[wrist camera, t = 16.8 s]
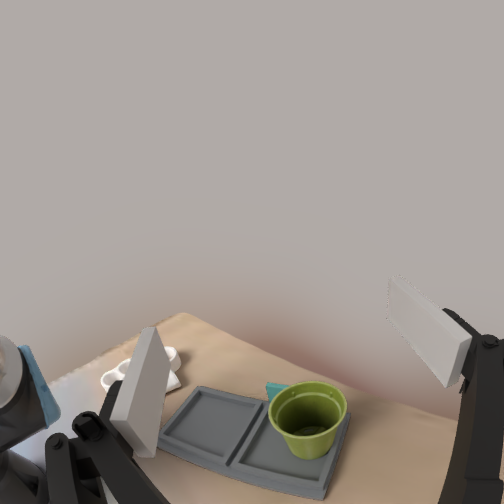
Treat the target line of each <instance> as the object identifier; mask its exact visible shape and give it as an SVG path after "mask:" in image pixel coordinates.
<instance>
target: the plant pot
mask: <svg viewBox="0 0 504 504" xmlns="http://www.w3.org/2000/svg"><path fill="white" fill-rule="evenodd" d="M346 411H347V401H346V398H345V396H344V394H343V393H342V392H341V391H340V390H339V389H338V388H337V387H335V386H333V385H331V384H329V383H325V382H321V381H306V382H300V383H296V384H293V385H291V386H289V387H287V388H285V389H283V390H282V391H280V392H279V393H278V394H277V395H276V396H275V397H274V398H273V400H272V401H271V403H270V406H269V410H268V415H269V419H270V422H271V424H272V425H273V427H274V428H275V429H276V430H277V431H278V432H280V433H281V434H282V435H283V437H284V439H285V441H286V443H287V445H288V447H289V449H290V451H291V452H292V453H293V454H294V455H295V456H297V457H299V458H301V459H305V460H313V459H317V458H320V457H322V456H324V455H325V454H326V453H327V452H328V451H329V450H330V448H331V446H332V444H333V441H334V438H335V434H336V431H337V427H338V425H339V424H340V423H341V422H342V421H343V419H344V417H345V415H346ZM308 429H313V431H307V432H304V431H305V430H308Z"/></svg>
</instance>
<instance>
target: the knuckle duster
mask: <svg viewBox="0 0 504 504" xmlns="http://www.w3.org/2000/svg"><path fill="white" fill-rule="evenodd" d="M164 348H165V351H166V353H167V356H168V358H169V359H170V363H171V368H170V373H169V379H168V384H167V389H166V393H167V392H169V391H171V390H173V389H175V388H178V387H180V386H181V384H180V382H179V380H178V378H177V377H176V375H175V374H174V372H176V371H177V370H178V369H179V368H180V366H181V360H180V358H179V355H178V353H177V351H176V349H175V348H173V347H169V346H166V347H164ZM130 360H131V358H130V359H126V360H125V361H123V362H121V363H120V364H119V365H118V366H117V367H116V368H115V369H113V370H111V371H107V372H106V373H105V374H104V375H103V376H102V378H101V384H102V386H103V387H104V389H105V390H106V392H108V390H109V387H110V386H111V385H112V384H113V383H114V382H115V381H116V380H123V379H124V377H125V374H126V371H127V368H128V366H129V363H130Z"/></svg>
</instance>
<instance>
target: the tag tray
mask: <svg viewBox="0 0 504 504" xmlns="http://www.w3.org/2000/svg"><path fill="white" fill-rule="evenodd" d="M287 387H289V386H288V385H281V384H275V383H269V382H268V383H267V385H266V389H267V393H268V398H269V402H268V401H263V400H258V399H253V398H249V397H244V396H240V395H235V394H231V393H227V392H223V391H219V390H215V389H211V388H207V387H204V386H200V387H199V386H197V387H196V388H195V390H194V391H193V392H192V393H191V395H190V396H189V397H188V398H187V399H186V401H185V402H184V403H183V404H182V405H181V407H180V408H179V409H178V410H177V411H176V413H175V414H174V415H173V416H172V417H171V419H170V420H169V421H168V422H167V423H166V424H165V426H164V427H163V428H162V429H161V430H160V431H159V435H158V441H157V447H158V448H160V449H162V450H164V451H166V452H168V453H170V454H173V455H175V456H177V457H179V458H181V459H184V460H186V461H188V462H190V463H193V464H195V465H198V466H200V467H203V468H205V469H208V470H210V471H213V472H216V473H218V474H221V475H224V476H227V477H230V478H233V479H236V480H239V481H242V482H245V483H248V484H251V485H255V486H258V487H262V488H265V489H269V490H273V491H277V492H281V493H285V494H290V495H294V496H299V497H304V498H309V499H315V500H321V501H323V499H324V496H325V494H326V491H327V488H328V486H329V483H330V480H331V477H332V475H333V472H334V469H335V466H336V463H337V460H338V457H339V454H340V451H341V447H342V444H343V441H344V437H345V434H346V431H347V427H348V423H349V420H350V416H351V413H346V415H345V417H344V419H343V421H342V422H341V423H340V424H339V425H338V427H337V431H336V434H335V438H334V441H333V444H332V446H331V448H330V450H329V451H328V452H327V453H326V454H325V455H324V456H322V457H320V458H317V459H313V460H305V459H301V458H299V457H297V456H295V455H294V454H293V453H292V452H291V451H290V449H289V447H288V445H287V443H286V441H285V439H284V437H283V435H282V434H281V433H280V432H278V431H277V430H276V429H275V428H274V427H273V425H272V424H271V422H270V419H269V415H268V410H269V406H270V403H271V401H272V400H273V398H274V397H275V396H276V395H277V394H278V393H279V392H280V391H282V390H283V389H285V388H287ZM307 431H313V429H308V430H305V431H304V432H307Z"/></svg>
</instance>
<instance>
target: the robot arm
mask: <svg viewBox="0 0 504 504" xmlns="http://www.w3.org/2000/svg"><path fill="white" fill-rule="evenodd" d="M387 319H388V320H389V321H390V323H391V324H392V325H393V326H394V327H395V328H396V329H397V331H398V332H399V333H400V334H401V335H402V336H403V338H404V339H405V340H406V341H407V342H408V343H409V344H410V346H411V347H412V348H413V349H414V350H415V351H416V353H417V354H418V355H419V356H420V358H421V359H422V360H423V361H424V362H425V364H426V365H427V366H428V367H429V368H430V369H431V371H432V372H433V373H434V374H435V376H436V377H437V378H438V379H439V381H440V382H441V383H442V384H443V385H444V387H445V388H448V387H450V386H451V385H453V384H455V383H457V382H458V380H459V377H460V374H461V373H462V375H463V376H464V377H465V379H464V382H463V384H462V387H461V389H460V392H459V393H461V392H462V399H461V407H460V414H459V420H458V426H457V432H456V437H455V442H454V447H453V452H452V456H451V460H450V464H449V468H448V472H447V476H446V479H445V483H444V486H443V489H442V492H441V496H440V499H439V502H438V504H501V499H502V494H503V489H504V483H503V480H500V479H499V473H500V466H501V458H502V449H503V438H504V339H502V340H499V339H498V338H497V337H495V336H493V335H489V334H487V335H481V334H479V333H478V332H477V331H476V330H475V329H474V328H473V327H471V326H470V325H469V324H468V323H467V322H465V321H464V320H463V319H462V318H460V316H459V315H457V314H456V313H455V312H454V311H451V310H449V309H446V308H444V309H440V308H439V307H438V306H437V305H436V304H434V303H433V302H432V301H431V300H430V299H428V298H427V297H426V296H425V295H424V294H422V293H421V292H420V291H419V290H418V289H416V288H415V287H414V286H413V285H411V284H410V283H409V282H408V281H406V280H405V279H404V278H403V277H401V276H400V275H398V276H394V277H391V278H389V282H388V305H387ZM170 368H171V363H170V360H169V358H168V356H167V353H166V351H165V348H164V346H163V344H162V341H161V339H160V336H159V334H158V331H157V329H156V326H155V327H148V328H143V329H142V332H141V334H140V337H139V340H138V342H137V345H136V347H135V350H134V352H133V355H132V358H131V360H130V363H129V366H128V368H127V371H126V374H125V377H124V379H123V380H116V381H115V382H114V383H113V384H112V385H111V386H110V387H109V390H108V392H107V395H106V396H107V397H106V398H105V400H104V403H103V406H102V408H101V411H100V414H99V416H98V415H97V414H96V413H95V412H91V411H86V412H83V413H80V414H79V415H78V416H76V418H75V419H74V420H73V423H72V430H73V431H74V432H75V433H76V434H77V435H78V437H77V438H73V439H68V437H67V436H66V435H65V434H63V433H55V434H53V435H51V436H50V437H49V438H48V439H47V441H46V443H45V459H46V473H47V480H46V477H45V475H44V474H43V472H42V471H41V470H40V469H39V468H38V467H37V466H36V465H34V464H33V463H32V462H31V461H30V460H28V459H26V458H24V457H22V456H21V455H19V454H17V453H15V452H13V451H12V450H10V448H11V447H13V446H15V445H17V444H19V443H20V442H22V441H24V440H26V439H27V438H29V437H31V436H33V435H34V434H36V433H38V432H40V431H42V430H44V429H48V428H49V426H50V425H51V424H53V423H54V422H56V421H57V420H58V419H59V418H60V415H61V410H60V408H59V406H58V404H57V402H56V400H55V399H54V397H53V395H52V393H51V391H50V389H49V388H48V386H47V384H46V382H45V380H44V378H43V376H42V374H41V372H40V369H39V367H38V365H37V363H36V361H35V359H34V356H33V354H32V352H31V350H30V348H29V346H27V345H23V346H18V347H16V346H15V344H14V343H13V342H12V341H11V340H10V339H8V338H7V337H4V336H2V335H0V504H47V502H48V496H49V499H50V504H108V503H107V500H106V497H105V493H104V490H103V486H102V483H101V479H100V476H102V478H103V480H104V481H105V483H106V485H107V486H108V488H109V490H110V491H111V493H112V494H113V496H114V497H115V499H116V500H117V502H118V503H119V504H170V503H169V502H168V501H167V499H166V498H165V497H164V496H163V495H162V494H161V493H160V491H159V490H158V489H157V488H156V487H155V486H154V484H153V483H152V482H151V481H150V479H149V478H148V477H147V476H146V475H145V473H144V472H143V471H142V469H141V468H140V467H139V466H138V464H137V463H136V462H135V460H134V459H133V458H132V456H133V451H134V452H135V453H136V454H137V455H138V456H139V457H148V458H155V454H156V447H157V441H158V435H159V428H160V422H161V417H162V411H163V405H164V400H165V394H166V389H167V384H168V379H169V373H170Z"/></svg>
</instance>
